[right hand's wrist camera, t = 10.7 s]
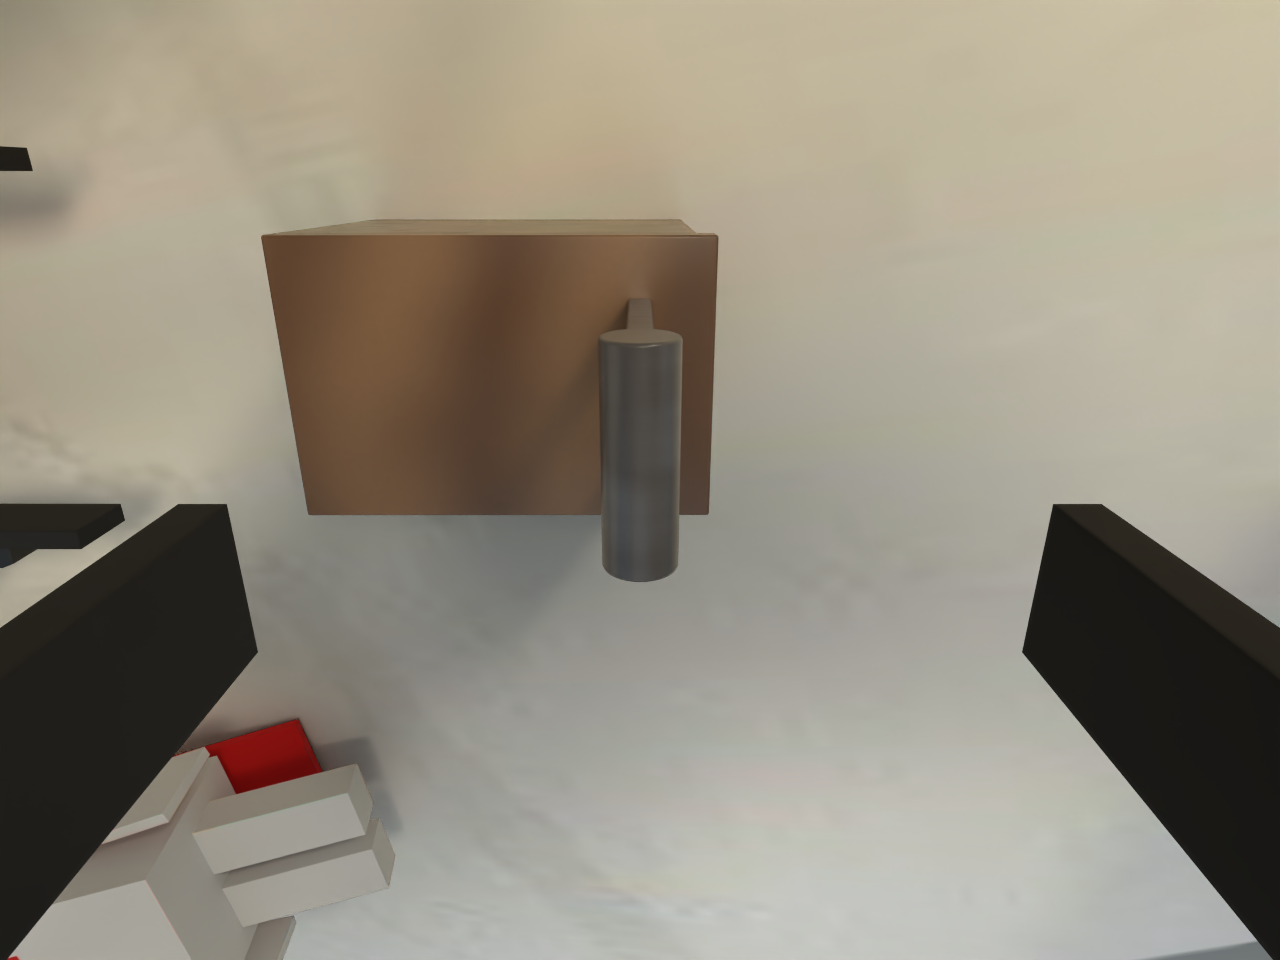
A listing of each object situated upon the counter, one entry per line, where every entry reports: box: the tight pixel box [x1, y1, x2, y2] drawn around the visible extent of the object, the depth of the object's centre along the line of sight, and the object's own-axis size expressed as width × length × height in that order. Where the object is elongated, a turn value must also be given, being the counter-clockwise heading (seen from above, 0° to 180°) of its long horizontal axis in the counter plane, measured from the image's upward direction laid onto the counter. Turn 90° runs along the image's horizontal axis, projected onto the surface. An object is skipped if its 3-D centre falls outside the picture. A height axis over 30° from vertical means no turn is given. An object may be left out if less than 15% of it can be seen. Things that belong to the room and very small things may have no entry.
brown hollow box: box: [282, 220, 696, 233], centre depth 30 cm, size 13×9×10 cm
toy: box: [7, 719, 395, 960], centre depth 39 cm, size 12×13×30 cm
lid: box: [261, 233, 718, 582], centre depth 21 cm, size 14×9×9 cm, turn 90°
